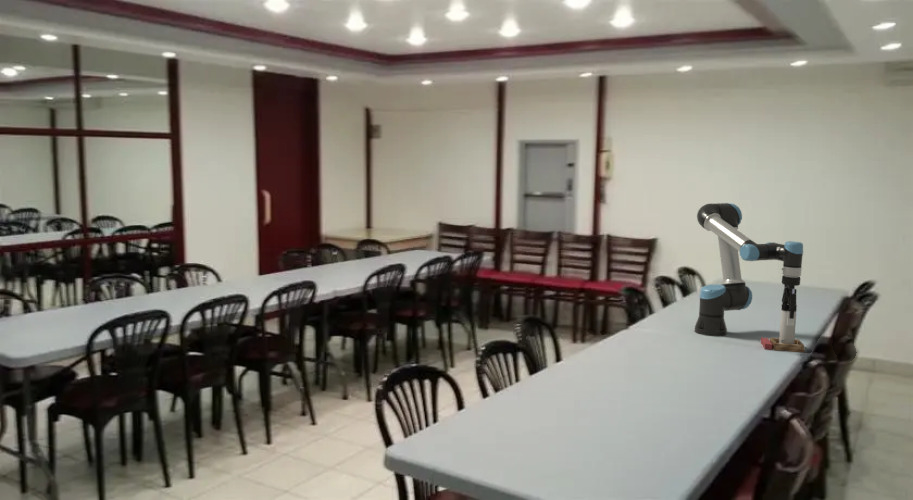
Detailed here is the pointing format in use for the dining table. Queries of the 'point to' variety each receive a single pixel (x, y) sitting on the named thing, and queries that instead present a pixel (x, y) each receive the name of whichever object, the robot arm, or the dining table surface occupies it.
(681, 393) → the dining table surface
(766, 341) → the door edge strip
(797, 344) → the box
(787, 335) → the travel mug
